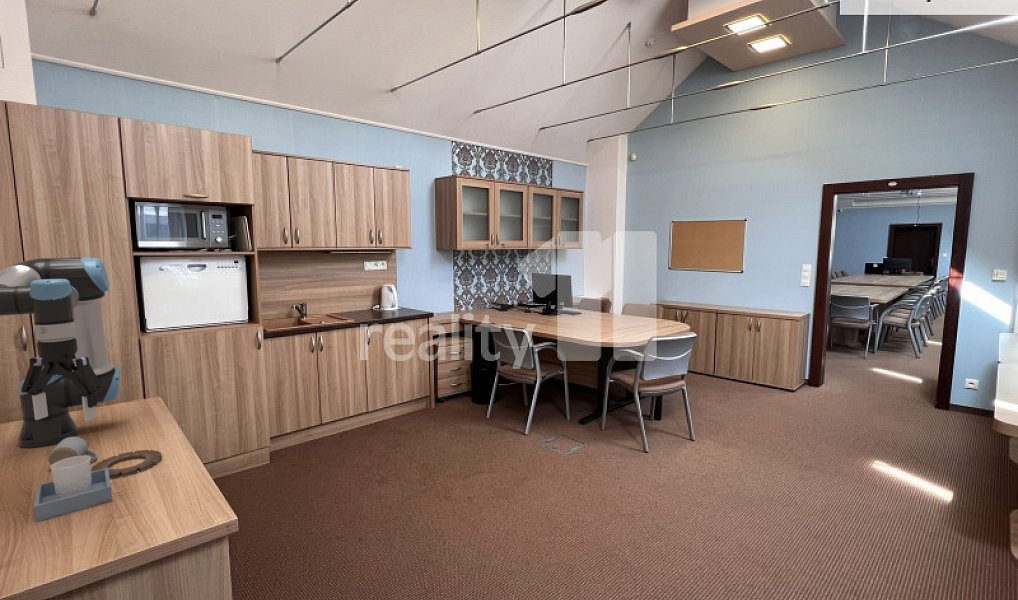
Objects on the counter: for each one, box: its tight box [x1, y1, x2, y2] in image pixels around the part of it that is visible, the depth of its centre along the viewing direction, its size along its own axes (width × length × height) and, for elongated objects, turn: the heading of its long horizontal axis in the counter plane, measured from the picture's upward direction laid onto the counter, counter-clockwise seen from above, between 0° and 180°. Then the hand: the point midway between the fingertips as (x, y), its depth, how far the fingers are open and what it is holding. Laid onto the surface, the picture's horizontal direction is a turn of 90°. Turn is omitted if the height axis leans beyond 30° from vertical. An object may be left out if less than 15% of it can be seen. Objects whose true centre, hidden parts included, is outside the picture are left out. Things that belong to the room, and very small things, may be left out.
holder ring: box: [91, 449, 163, 480], centre depth 148 cm, size 17×17×1 cm
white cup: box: [50, 455, 92, 499], centre depth 128 cm, size 8×8×10 cm
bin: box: [33, 468, 113, 523], centre depth 128 cm, size 15×15×4 cm
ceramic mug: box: [48, 436, 98, 466], centre depth 149 cm, size 11×8×8 cm
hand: (66, 418), depth 126 cm, fingers open, 13 cm apart
